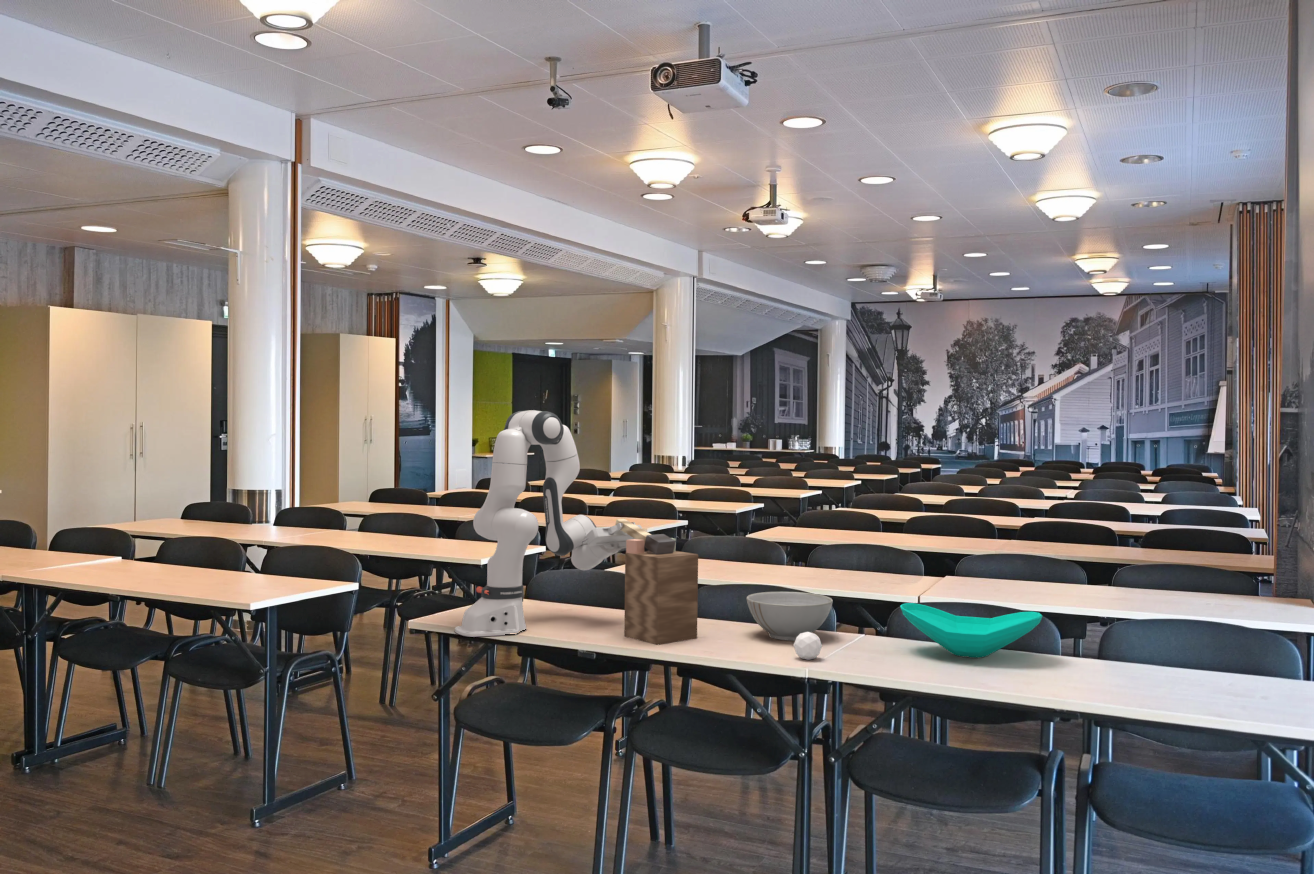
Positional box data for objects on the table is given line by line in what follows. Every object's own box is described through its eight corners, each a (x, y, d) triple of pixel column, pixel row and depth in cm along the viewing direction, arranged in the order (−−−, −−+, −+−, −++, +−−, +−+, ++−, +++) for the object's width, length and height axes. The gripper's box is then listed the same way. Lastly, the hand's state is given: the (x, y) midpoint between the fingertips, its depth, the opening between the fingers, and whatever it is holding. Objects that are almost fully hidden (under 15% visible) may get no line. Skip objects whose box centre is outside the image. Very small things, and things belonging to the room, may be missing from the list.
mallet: (610, 526, 338) (613, 515, 338) (627, 525, 343) (629, 514, 342) (656, 554, 321) (658, 542, 321) (673, 552, 326) (675, 540, 325)
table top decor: (1042, 652, 310) (1043, 607, 310) (1040, 672, 284) (1041, 623, 284) (906, 640, 324) (906, 598, 324) (892, 658, 299) (893, 612, 299)
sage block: (657, 550, 332) (657, 538, 332) (667, 549, 334) (667, 537, 334) (666, 552, 329) (666, 539, 329) (675, 551, 331) (675, 538, 331)
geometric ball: (811, 670, 295) (812, 651, 290) (787, 656, 299) (788, 637, 294) (826, 653, 300) (827, 634, 295) (803, 640, 304) (804, 621, 299)
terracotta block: (626, 552, 325) (626, 539, 325) (634, 551, 328) (634, 538, 328) (636, 553, 323) (636, 540, 323) (644, 552, 326) (644, 539, 326)
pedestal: (624, 636, 326) (625, 552, 326) (663, 630, 336) (664, 549, 336) (657, 644, 314) (658, 557, 314) (697, 638, 324) (698, 554, 324)
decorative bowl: (732, 639, 323) (732, 600, 323) (765, 625, 347) (765, 589, 347) (815, 648, 311) (816, 608, 311) (843, 633, 334) (844, 595, 334)
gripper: (576, 535, 341) (599, 517, 332) (625, 532, 354) (648, 514, 345) (582, 553, 339) (605, 535, 330) (631, 549, 352) (654, 531, 343)
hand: (627, 524), depth 337 cm, fingers closed on mallet, 3 cm apart
